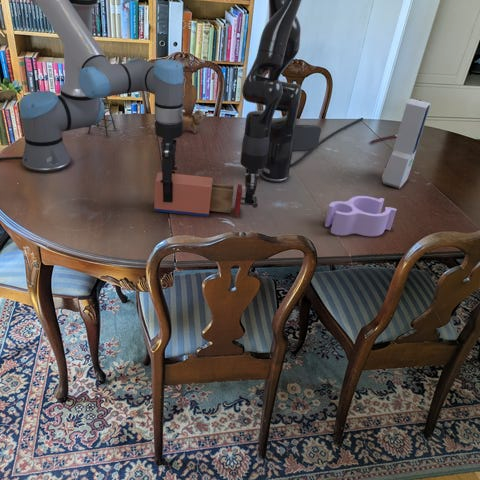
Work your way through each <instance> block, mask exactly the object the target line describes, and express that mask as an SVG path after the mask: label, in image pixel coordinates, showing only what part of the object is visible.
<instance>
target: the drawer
mask: <svg viewBox="0 0 480 480" xmlns="http://www.w3.org/2000/svg"><path fill="white" fill-rule="evenodd" d="M236 187H237V188H236V195H235V200H234V201H235V202H234V216H237V217H239V216H240V209H241V206H242V205H243V206H251V207H252V208H254V209H256V208H258V206H259V205H258V204H259V203H258V197H257V196H255V195H253V200H252V203H246V202H245V196H243V184H237V186H236ZM233 197H234V185H233V184H232V185H231V184H223V183H215V182H212V191H211V201H210V210H209V212H217V213H228V214H231V211H232V206H233V205H232V204H233ZM243 200H244V201H243Z"/></svg>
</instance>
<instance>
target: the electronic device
mask: <svg viewBox="0 0 480 480" xmlns="http://www.w3.org/2000/svg"><path fill="white" fill-rule="evenodd" d="M431 105H432V103H431V102H428V101H423V100H418V99H414V98H409V99H408V100H407V101H406V104H405V107H404V110H403V113H402V118H401V120H400V124H399V127H398V131H397V134H398V135H397V137H395V138H396V139H395V142H394V146H393V148H392V153H391V154H390V157H389V160H388V162H387V164H386V166H385V169H384V171H383V173H382V175H381V181H382V183H383V185H387V186H390V187H393V188H396V189H401V188H402V187H403V186H404V184H405V183H406V182H407V180H408V179H409V175H410V173H411V169H412V167H413V162H414V160H415V156H416V152H417V149H418V146H419V143H420V141H421V136H422V134H423V130H424V127H425V124H426V120H427V118H428V115H429V111H430V109H431Z"/></svg>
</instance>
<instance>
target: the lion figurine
mask: <svg viewBox="0 0 480 480" xmlns="http://www.w3.org/2000/svg"><path fill="white" fill-rule="evenodd" d="M203 120H204V111H202V110H200V109H197V110H195V111H194V112H193V113H192V114H190V115H189V116H183V120H182V123H183V126H186V127H189V126H190V132H192V133H193V134H196V133H197V130H196V127H197V126H200V124H201V123H202V122H203Z"/></svg>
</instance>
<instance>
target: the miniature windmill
mask: <svg viewBox="0 0 480 480" xmlns="http://www.w3.org/2000/svg"><path fill="white" fill-rule="evenodd" d="M105 101H106V103H107V107H106V106H104V116H103V118H102V120H101V121H104V125H101V124H100V122H99V123H98V124H96V125H94V127H95V126H96V127H97V128H99V127H101V128H105V136H106V137H109V132H108V131H109V130H108V127H110V126H111V125H112V126H113V129H114V131H117V127H116V121H115V119H114V117H113V113H112V108H111V106H110V102H109V97H106V98H103V102H105ZM105 110H106V111H105ZM108 112H109V114H110V119H106V114H107V113H108ZM107 122H110V123H109V124H107ZM91 128H92V126H90V127H88V131H87V132H88V134H91Z"/></svg>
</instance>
